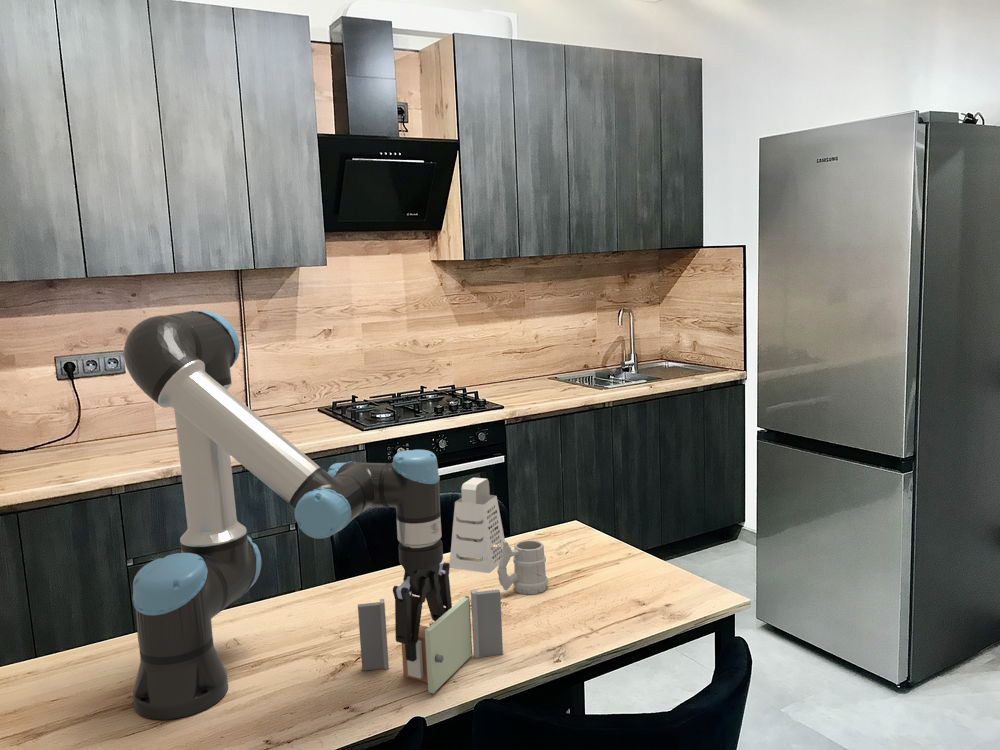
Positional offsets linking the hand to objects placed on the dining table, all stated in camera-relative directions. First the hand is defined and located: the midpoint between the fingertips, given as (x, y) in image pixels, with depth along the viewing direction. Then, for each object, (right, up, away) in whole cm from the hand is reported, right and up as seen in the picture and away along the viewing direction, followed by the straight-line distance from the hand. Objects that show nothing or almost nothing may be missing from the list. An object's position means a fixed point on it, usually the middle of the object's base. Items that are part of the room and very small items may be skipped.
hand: (427, 666), depth 145 cm
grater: (+8, +6, +52) cm, 53 cm away
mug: (+18, +4, +35) cm, 39 cm away
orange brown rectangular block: (0, -2, 0) cm, 2 cm away
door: (+5, -1, 0) cm, 5 cm away
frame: (0, -1, +5) cm, 5 cm away
